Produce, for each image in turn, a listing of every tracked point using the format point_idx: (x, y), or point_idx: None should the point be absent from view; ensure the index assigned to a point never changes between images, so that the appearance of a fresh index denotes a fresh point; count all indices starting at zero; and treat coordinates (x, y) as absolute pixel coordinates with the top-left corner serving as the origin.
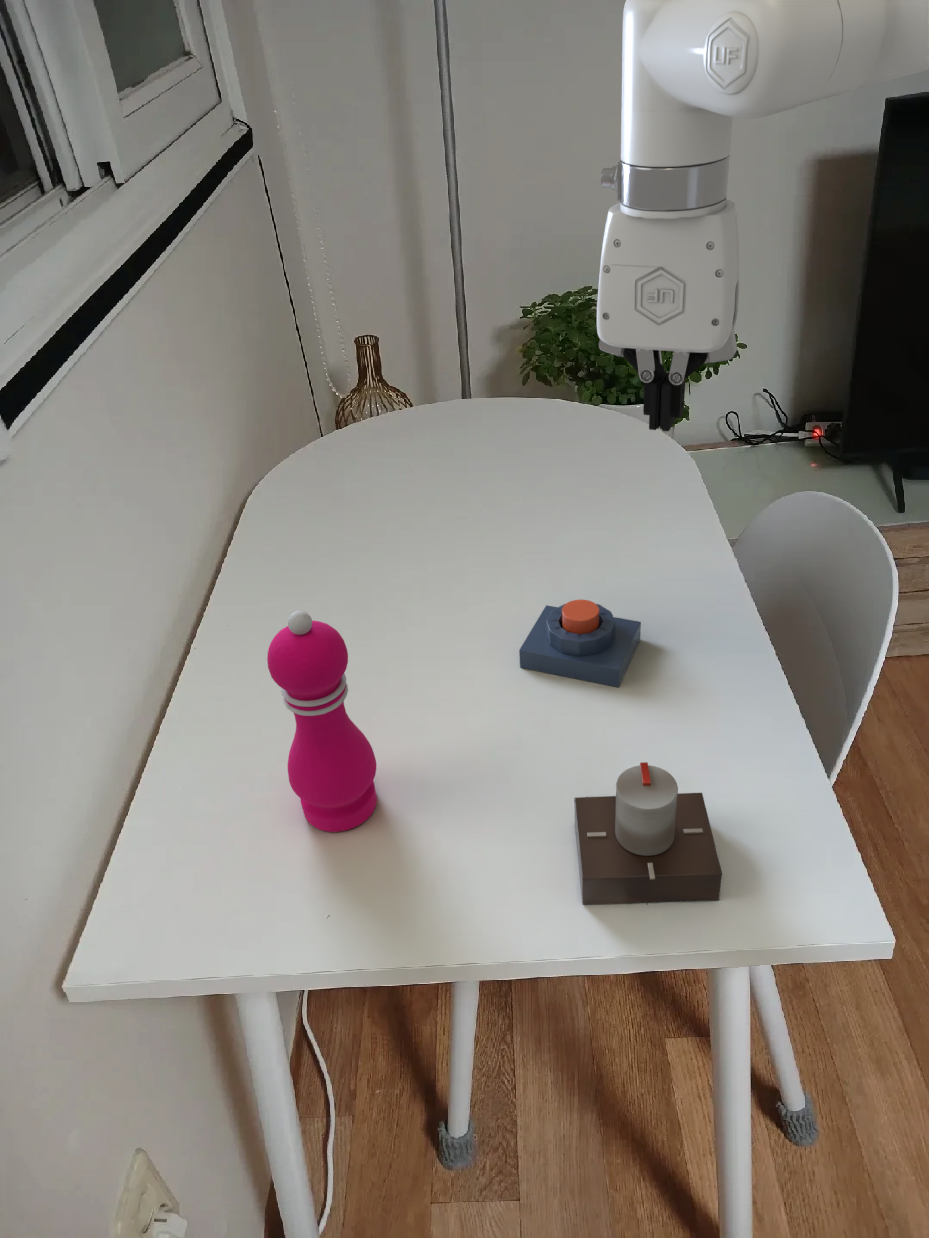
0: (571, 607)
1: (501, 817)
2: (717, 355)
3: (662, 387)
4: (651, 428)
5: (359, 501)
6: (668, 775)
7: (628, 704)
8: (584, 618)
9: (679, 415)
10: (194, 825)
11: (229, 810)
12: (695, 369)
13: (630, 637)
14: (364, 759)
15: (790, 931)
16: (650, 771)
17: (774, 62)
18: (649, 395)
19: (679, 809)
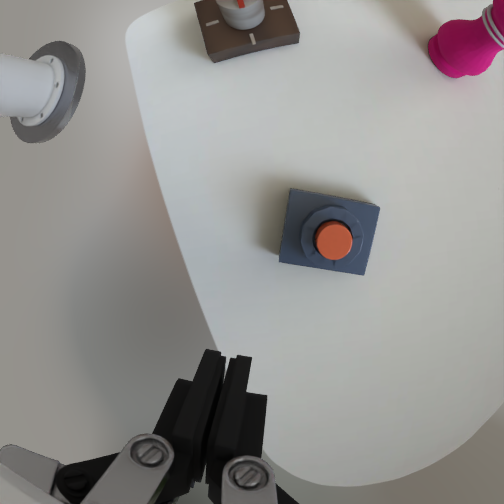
0: (343, 245)
1: (349, 43)
2: (33, 467)
3: (199, 437)
4: (245, 356)
5: (478, 382)
6: (222, 4)
7: (279, 168)
8: (329, 228)
9: (177, 380)
10: (501, 53)
11: (493, 60)
12: (96, 460)
13: (285, 237)
14: (449, 32)
15: (163, 10)
16: (236, 4)
17: None
18: (247, 429)
19: (222, 36)
